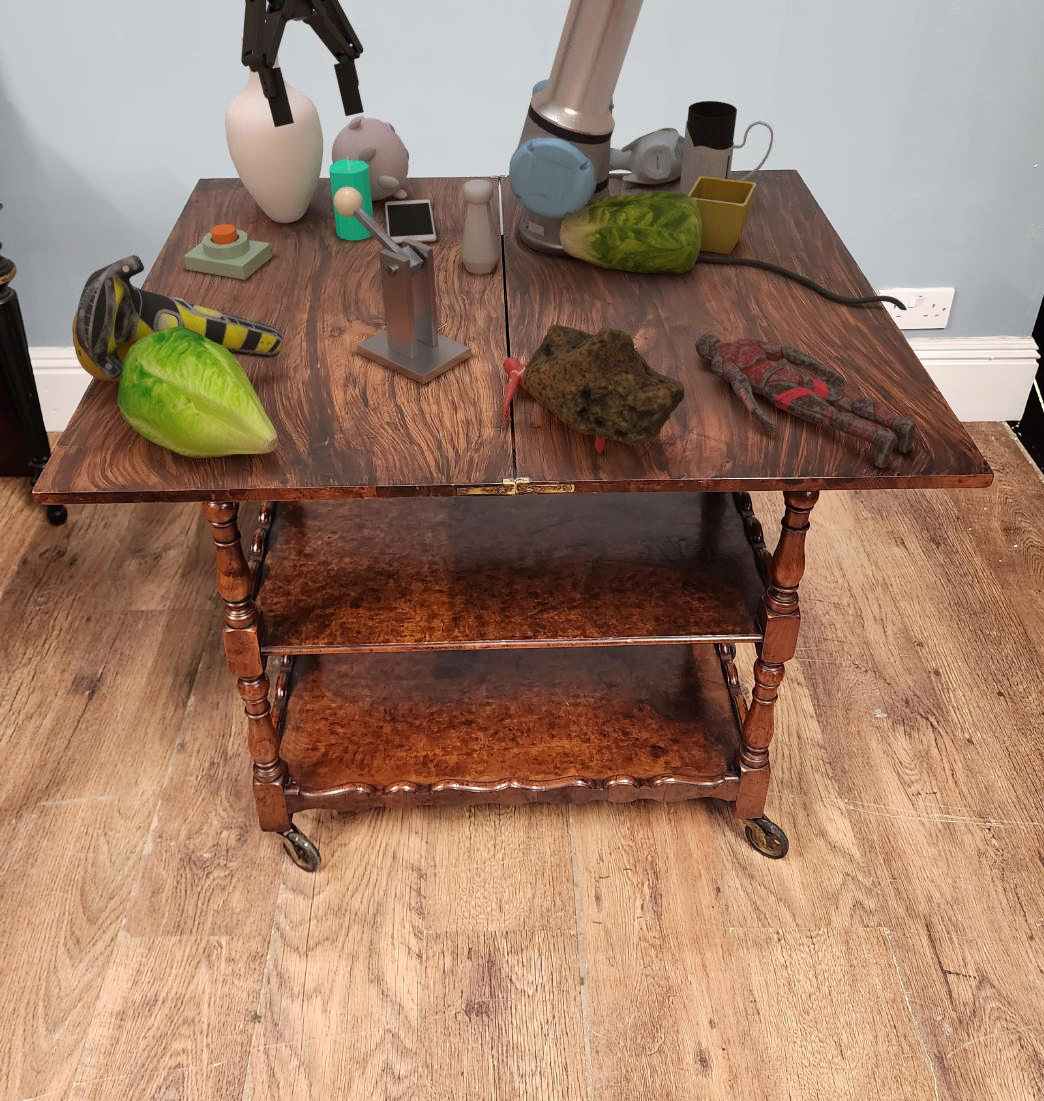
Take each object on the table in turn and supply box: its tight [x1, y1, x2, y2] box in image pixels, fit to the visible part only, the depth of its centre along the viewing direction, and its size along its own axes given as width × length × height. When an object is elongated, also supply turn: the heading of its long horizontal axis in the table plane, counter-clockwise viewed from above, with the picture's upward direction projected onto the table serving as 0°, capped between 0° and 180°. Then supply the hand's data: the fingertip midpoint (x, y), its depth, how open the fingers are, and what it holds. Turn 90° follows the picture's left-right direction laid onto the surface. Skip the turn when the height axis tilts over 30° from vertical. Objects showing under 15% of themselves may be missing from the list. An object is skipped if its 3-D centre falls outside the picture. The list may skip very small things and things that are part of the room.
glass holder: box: [678, 100, 774, 195], centre depth 172 cm, size 9×14×15 cm, turn 74°
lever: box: [333, 187, 423, 277], centre depth 134 cm, size 14×4×4 cm, turn 50°
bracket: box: [356, 238, 472, 386], centre depth 137 cm, size 12×9×15 cm
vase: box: [224, 32, 324, 224], centre depth 164 cm, size 14×14×28 cm
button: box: [210, 223, 238, 245], centre depth 159 cm, size 4×4×2 cm
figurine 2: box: [695, 333, 917, 469], centre depth 131 cm, size 14×5×30 cm
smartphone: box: [384, 199, 438, 245], centre depth 172 cm, size 8×1×15 cm
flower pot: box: [688, 176, 757, 255], centre depth 163 cm, size 9×9×9 cm
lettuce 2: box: [559, 190, 702, 276], centre depth 157 cm, size 12×21×11 cm, turn 86°
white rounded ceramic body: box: [609, 127, 685, 185], centre depth 183 cm, size 9×19×10 cm
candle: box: [328, 156, 375, 241], centre depth 166 cm, size 6×6×12 cm
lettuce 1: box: [116, 326, 279, 459], centre depth 123 cm, size 14×20×12 cm
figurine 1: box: [502, 356, 606, 453], centre depth 131 cm, size 16×4×20 cm
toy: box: [331, 115, 410, 202], centre depth 176 cm, size 14×12×15 cm
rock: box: [523, 324, 685, 446], centre depth 122 cm, size 13×12×20 cm
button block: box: [183, 228, 273, 281], centre depth 161 cm, size 10×8×4 cm
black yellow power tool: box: [76, 254, 284, 379], centre depth 126 cm, size 14×26×10 cm
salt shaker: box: [459, 178, 500, 276], centre depth 156 cm, size 6×6×13 cm
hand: (320, 119), depth 141 cm, fingers open, 13 cm apart
